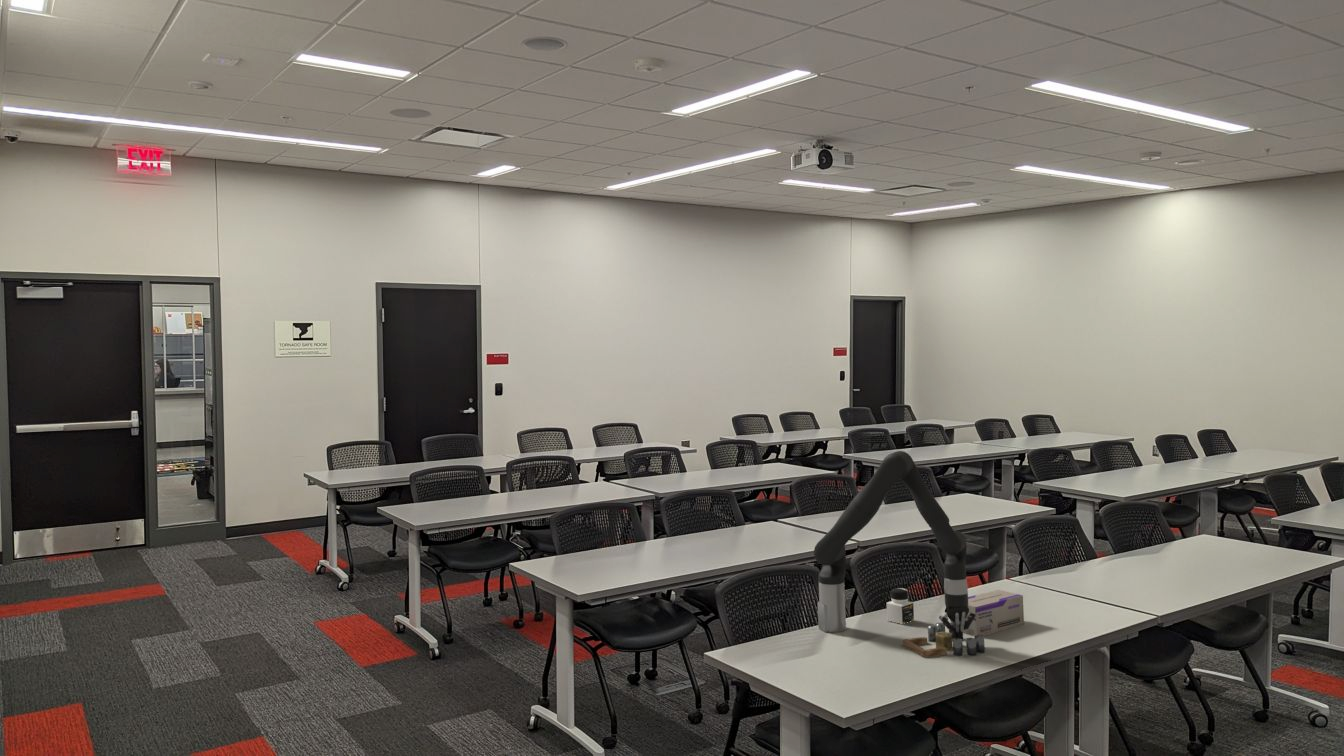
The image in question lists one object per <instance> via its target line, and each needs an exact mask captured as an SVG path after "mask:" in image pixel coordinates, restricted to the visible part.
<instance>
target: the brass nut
mask: <svg viewBox="0 0 1344 756" xmlns="http://www.w3.org/2000/svg"><path fill="white" fill-rule="evenodd" d="M942 647H945V648H946V649H947V651H949V650H953V639H952V633H949V631H948V632H947V631H945V632H936V642H935V648H942Z"/></svg>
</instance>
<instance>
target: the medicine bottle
mask: <svg viewBox="0 0 1344 756" xmlns="http://www.w3.org/2000/svg"><path fill="white" fill-rule="evenodd" d="M890 593H891V601H888V602H886V621H887V622H888V621H892V622H897V623H900V624H899V625H901V624H904V623H907V622H910V621H913V620H914V621H915V615H914V614H915V613H914V612H915V609H914V602H913V601H909V590H908V589H905V588H902V587H898V588H897V587H896V588H893V589H891V591H890ZM914 621H913V622H914ZM892 622H891V623H892ZM897 623H896V624H897ZM910 623H911V622H910ZM907 624H908V623H907ZM904 625H905V624H904Z"/></svg>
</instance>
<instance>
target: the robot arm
mask: <svg viewBox="0 0 1344 756" xmlns="http://www.w3.org/2000/svg"><path fill="white" fill-rule="evenodd" d="M899 481H902V483H904V485H905V487H907V489H908V491H909V492H910V493H911V496H912V498H913V501H914V504H915V506H916V508H917V510H918V512H919V513H920V515H921V516H922V519H923V520H924V521H925V522H926V524H927V525H928V526H929V528H930V529H931V531H932V533H933V535H934V537H935V540H936V541H937V544H938V545H939V547H940V549H942V551H943V552H945V561H944V564H943V572H944V573H943V574H944V583H943V588H944V589H943V590H944V591H943V592H944V605H945V609H944V613H943V614H942V615H939V616H938V619H939V620H940V621H941V623H943V624H944V625H945V628H947V630H948V631H949V630H951V631H953V637H954V638H961V639H962V642H963V641H964V633H963V631H964V630H965V629H968V628H969V626H970V624H971V623H972V621H973V619H974V618H975V614H974V613H972V612H970V611H969V608H968V597H969V590H968V582H967V569H966V567H967V566H966V559H967V547H968V546H967V539H966V537H965V535H964V533H962V532H960V531H958V530H954V529H953V527H952V526H951V524H950V519H949V516H948V515H947V513H946V512H945V511H944V509H943V508H942V506H941V504H940V503H939V502H938V501H937V500H936V498H935V497H934V495H933V494H932V492H931V490H930V489H929V488H928V486H927V484H926V482H925V481H924V478H923V477H922V475H921V473H920V472H919V468H918V467H917V465H916V464H915V461H914V460H913V458H912V456H911V455H910V454H909V453H907V452H906V451H903V450H899V451H894V452H891V453H889V454H888V455H887V454H886V456H885V457H884V458H883V460H882V461H881V463H880V464H879V466H878V467H877V469H876V471H875V473H874V474H873V476H872V477H871V478H870V480H869V481H868V482H867V483H866V484H865V485H864V486H863V487H862V488H861V489H860V491H859V492H858V493H857V494H856V495H855V496H854V498H853V499H852V500H851V501H850V502H849V504H848V505H847V507H845V509H844V511H842V513H841V515H840V516H839V518H837V521H836V522H835V523H834V525H833V526H832V528H831V529H830V530H828V532H827V533H826V534H825V535H824V536H823V537H821V539H820V540H819V541H817V543H816V545H814V546H815V547H814V549H813V557H814V559H815V561H816V562H817V563H818V564H819V565H821V566H822V567H821V570H820V572H819V574H818V592H819V593H818V598H819V601H817V619H818V620H817V623H818V629H820V630H821V629H822V631H823V632H824V633H827V632H828V631H829V633H839V631H840V632H843V631H846V630H847V621H846V619H847V618H846V615H847V614H846V597H845V591H846V590H845V576H846V571H847V561H846V560H847V557H846V556H847V555H846V554H847V551H846V547H845V545H846V544H847V543H848V542H849V541H850V540H851V539H852V538H853V537H855V536H856V535H857V534H859V532H860V531H861V530H863V529H864V528H865V527H866V526H867V525H868V524H869V523H870V522H871V521H872V519H873V518H874V517H875V516H876V514H877V513H878V512H879V510H880V508H881V506H882V504H883V502H884V499H885V498H886V495H887V494H888V493H889V492H890V491H891V490H892V488H893V487H894V486H895V485H896V484H897V483H898V482H899ZM949 620H950V621H949ZM950 623H951V624H952V625H951V624H950Z"/></svg>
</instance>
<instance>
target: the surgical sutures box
mask: <svg viewBox="0 0 1344 756" xmlns="http://www.w3.org/2000/svg"><path fill="white" fill-rule="evenodd" d="M968 608H969V611H970V612H972V613H974V614H975V618H974V619H973V621H972V623H971V624H970V626H969V628H968V629H965V630H964V631H963V635H964V634H965V635H968V636H972V637H975V636H976V635H982V636H985V635H990V634H993V633H997V632H1001V631H1004V630H1009V629H1012V628H1015V627H1018V626H1023V625H1025V615H1024V613H1025V612H1024V594H1019V593H1015V592H1009V591H1005V590H1001V589H996V590H992V591H988V592H987V591H986V592H983V593H979V594H974V595H970V596H968Z"/></svg>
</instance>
